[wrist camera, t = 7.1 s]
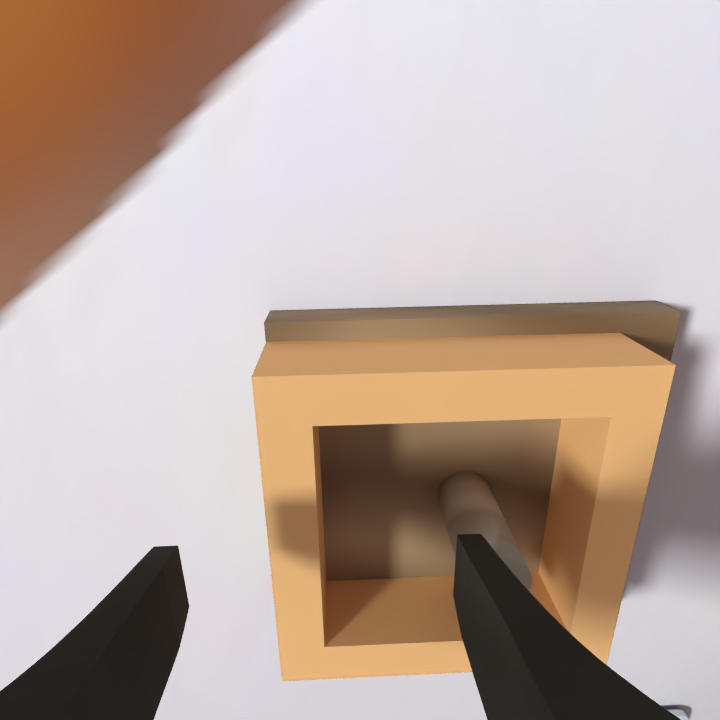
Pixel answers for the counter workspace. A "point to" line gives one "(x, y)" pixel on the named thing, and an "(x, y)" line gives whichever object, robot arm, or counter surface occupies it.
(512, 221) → the counter surface
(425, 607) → the wooden square frame
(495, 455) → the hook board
